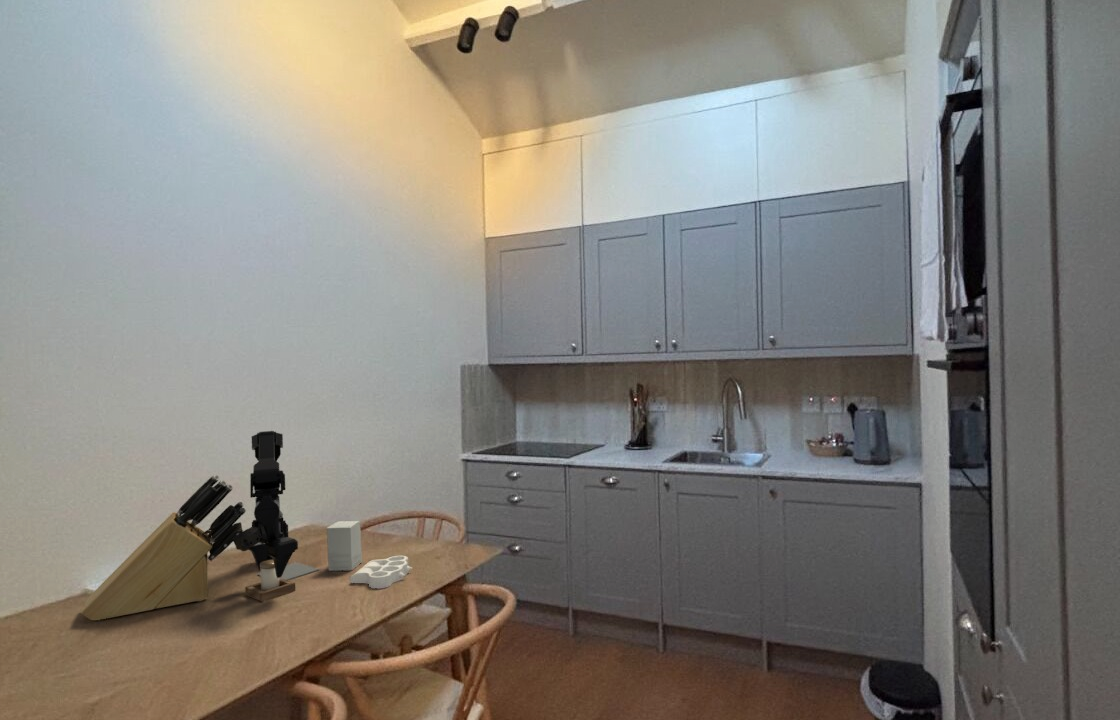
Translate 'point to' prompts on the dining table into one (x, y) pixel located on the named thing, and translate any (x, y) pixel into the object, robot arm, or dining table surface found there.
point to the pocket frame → (261, 595)
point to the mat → (296, 571)
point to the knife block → (170, 559)
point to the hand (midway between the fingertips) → (270, 574)
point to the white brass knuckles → (382, 572)
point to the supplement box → (344, 545)
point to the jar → (268, 575)
